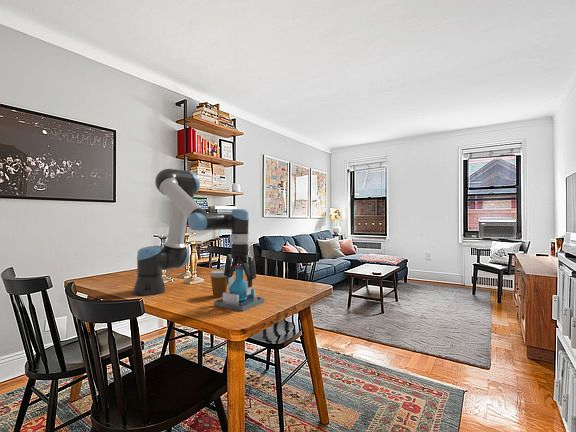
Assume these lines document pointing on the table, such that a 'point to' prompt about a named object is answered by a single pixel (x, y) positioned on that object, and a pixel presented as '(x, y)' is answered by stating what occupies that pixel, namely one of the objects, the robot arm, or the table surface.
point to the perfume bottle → (239, 284)
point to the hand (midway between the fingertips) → (239, 293)
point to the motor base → (233, 301)
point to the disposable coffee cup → (218, 283)
